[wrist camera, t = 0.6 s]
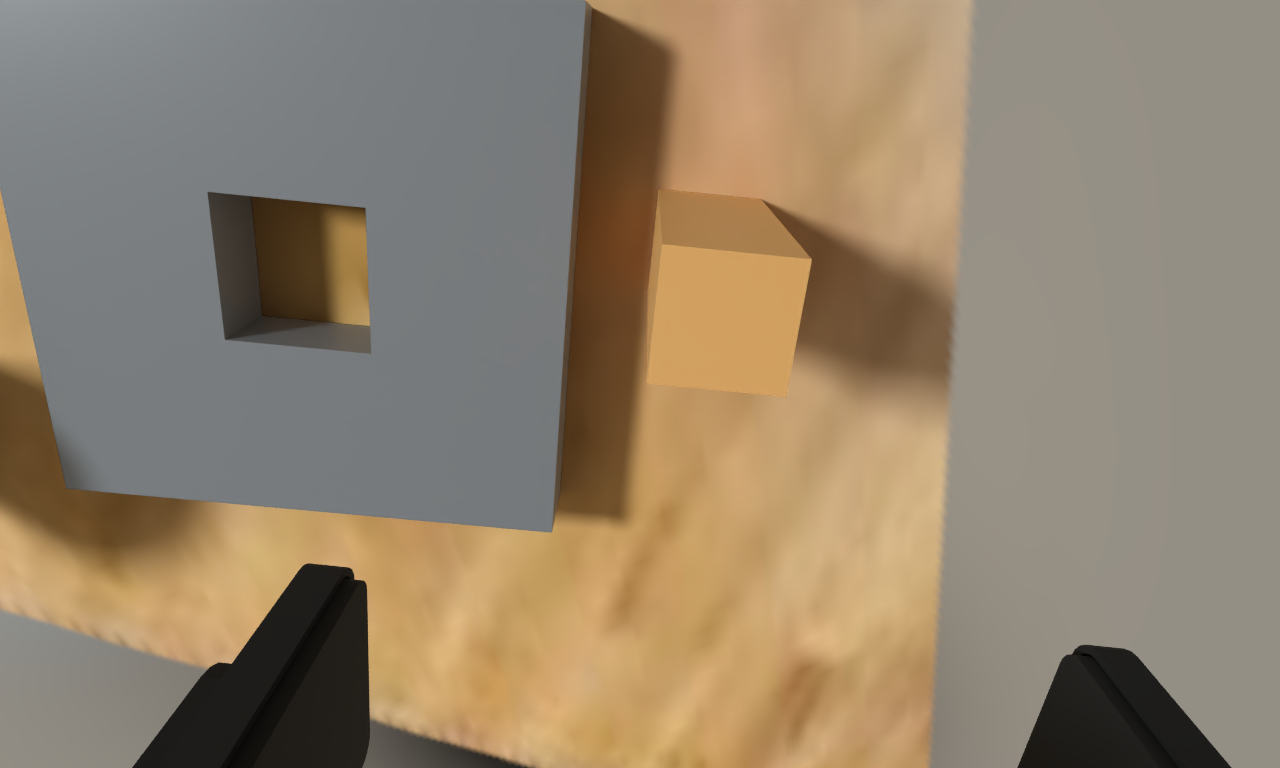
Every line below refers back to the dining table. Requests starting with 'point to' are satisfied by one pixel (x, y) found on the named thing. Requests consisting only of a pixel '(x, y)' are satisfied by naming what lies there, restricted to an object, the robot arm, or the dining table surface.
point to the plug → (723, 295)
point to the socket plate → (311, 172)
